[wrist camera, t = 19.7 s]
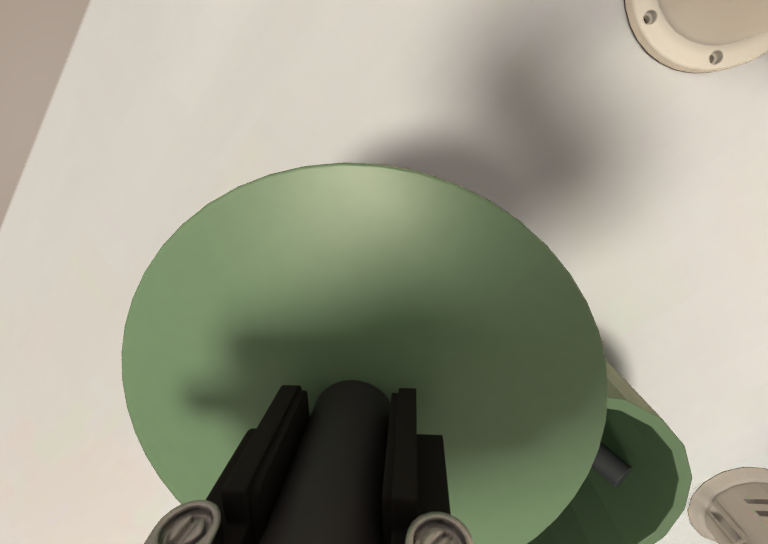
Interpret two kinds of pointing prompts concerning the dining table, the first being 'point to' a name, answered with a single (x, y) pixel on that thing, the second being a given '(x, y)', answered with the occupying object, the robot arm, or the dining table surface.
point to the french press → (732, 507)
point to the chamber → (628, 479)
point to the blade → (610, 466)
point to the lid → (368, 349)
